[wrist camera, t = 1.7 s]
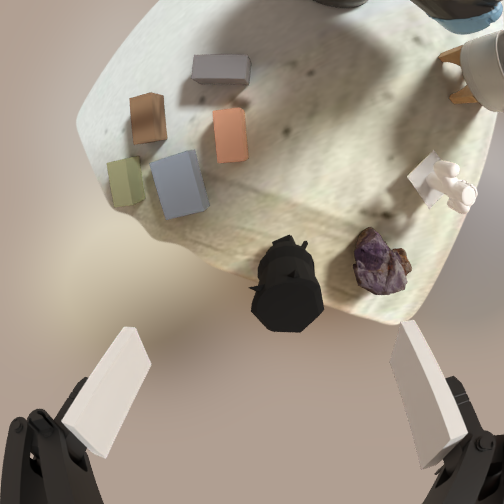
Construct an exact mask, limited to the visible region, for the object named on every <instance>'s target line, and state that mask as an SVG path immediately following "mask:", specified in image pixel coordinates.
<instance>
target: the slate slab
mask: <svg viewBox="0 0 504 504" xmlns="http://www.w3.org/2000/svg"><path fill="white" fill-rule="evenodd" d="M149 164H150V168H151V171H152V175H153V179H154V182H155V185H156V189H157V192H158V196H159V199H160V202H161V206H162V209H163V212H164V215H165V218H166V220H168V219H172V218H176V217H181V216H185V215H189V214H194V213H198V212H202V211H205V210H206V209H207V208H208V207H209V206H210V204H209V200H208V197H207V193H206V189H205V186H204V182H203V178H202V174H201V170H200V167H199V163H198V159H197V155H196V151H195V149H194V150H189V151H185V152H182V153H179V154H176V155H173V156H169V157H166V158H163V159H160V160H157V161H154V162H151V163H149Z"/></svg>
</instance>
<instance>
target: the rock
mask: <svg viewBox="0 0 504 504" xmlns="http://www.w3.org/2000/svg"><path fill="white" fill-rule="evenodd" d="M354 256H355V261H356V264H353V269H354V272H355V276H356V279H357V283H358V286H361V287H362V288H364V289H366V290H368V291H370V292H371V293H373V294H375V295H389V294H390V293H396V292H399V291H401V290H405V285H406V284H407V279H406V275H407V274H408V273H409V272H411V271H412V267H411V264H410V262H409V261H408V259H407V257H406V252H405V250H404V249H402V248H399V249H393V250H391V249H390V248H389V247H388V246H387V244H386V242H385V241H383V240H382V237H381V235H380V234H379V233H378V232H376V231H375V230H374V229H373V228H372V227H368V228H367V229H365V230H364V231H362V233H361V234H360V235H359V237H358V241H357V244H356V249H355V251H354Z"/></svg>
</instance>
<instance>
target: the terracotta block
mask: <svg viewBox="0 0 504 504" xmlns="http://www.w3.org/2000/svg"><path fill="white" fill-rule="evenodd" d="M213 121H214V132H215V142H216V152H217V162H218V163H227V162H239V161H245V160H247V159H248V146H247V135H246V124H245V112H244V110H243V109H241V108H232V109H224V110H216V111H213Z"/></svg>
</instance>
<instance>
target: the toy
mask: <svg viewBox="0 0 504 504" xmlns="http://www.w3.org/2000/svg"><path fill="white" fill-rule="evenodd" d="M272 244H273V246H272V247H271V248H270V249H269V250H268V251H267V252H266V255H265V256H264V257H263V258H262V260H261V261H260V264H259V266H258V279H259V284H258V286H254V287H249V288H250V289H252V290H254V291H256V293H255V296H254V299H253V301H252V307H251V312H252V313H253V314H254V315H255V316H256V317H257V318H258V319H259V320H260V322H261V323H262V324H263V325H264V326H265V327H266V328H267V329H268V330H270V331H274V332H302V331H303V330H304V329H305V328H306V327H307V326H308V325H309V324H310V323H312V322H313V321H314V320H315V319H316V318H317V317H318V316H319V315H320V314H321V313H322V312H323V310H324V305H323V300H322V294H321V289H320V285H319V283H318V281H317V279H316V277H315V270H314V262H313V259H312V256H311V255H310V254H309V253H308V252H307V251H306V250H305V248H306V247H307V245H308V243H307V241H304V242H303V244H302V246H299V245H296V244H295V242H294V240H293V238H292V235H291V236H290V235H287V236H285V237H283V238H280V239H278V240H276V241H273V242H272Z"/></svg>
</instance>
